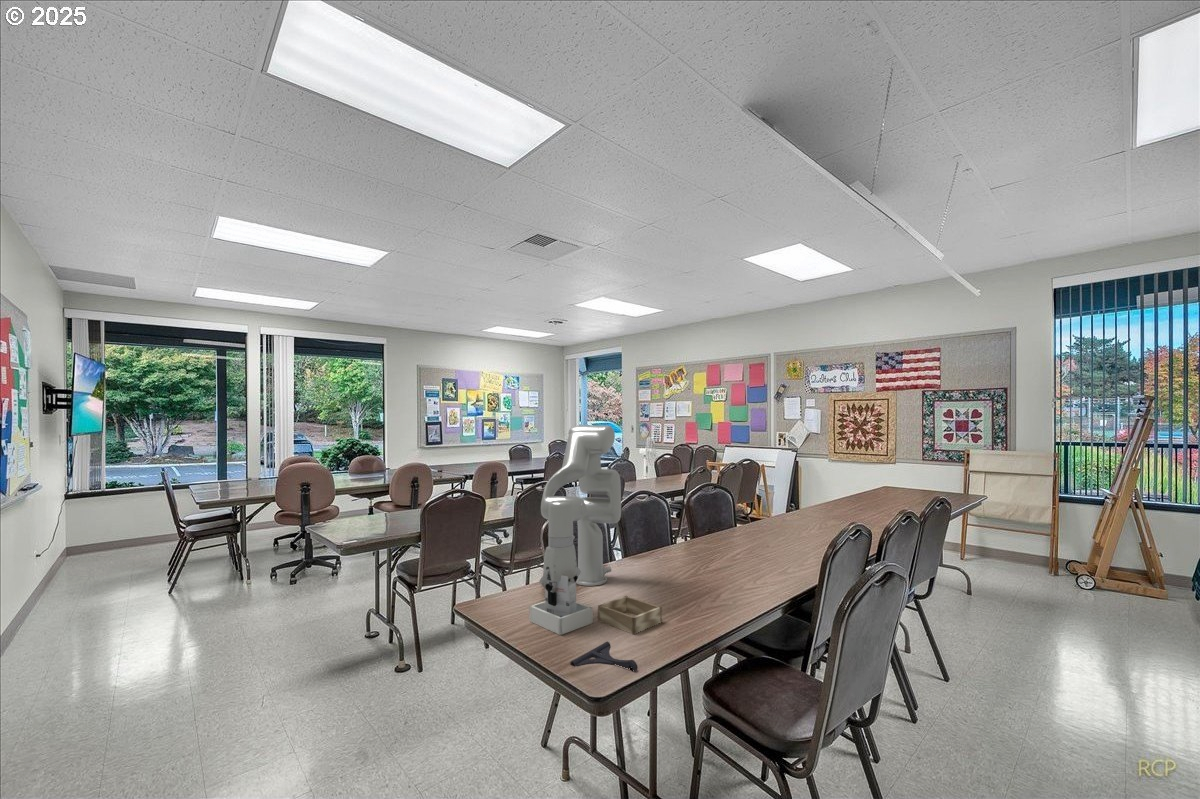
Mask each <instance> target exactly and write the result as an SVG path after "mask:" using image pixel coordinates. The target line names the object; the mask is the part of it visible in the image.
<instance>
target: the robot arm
mask: <svg viewBox="0 0 1200 799" xmlns="http://www.w3.org/2000/svg"><path fill="white" fill-rule="evenodd" d="M615 437H616V435H615V430H614V428H613V427H612V426H611V425H607V424H606V425H605V424H601V425H597V424H596V425H594V424H593V425H591V424H588V425H587V424H584V425H583V424H582V425H580V424H579V425H573V426H571V427H570V428H569V430H568V437H567V441H566V446H565V450H564V457H563V461H562V466H561V468H560V469H558V470H557V471H556V472H555V473H553V475H552V476H550V478H549V480H548V481H546V484H545V486H544V488H543V493H542V497H541V502H540V514H541V516H542V517H543V518H544V519H546V520H548V522H547V523H548V534H547V536H548V546H546V547H545V552H544V557H543V569H542V576H541V578H539V581H538V582H539V584H540V585H541V586H542V587H543V588H544V590H545V589H546V590H547V591H548V604H550V605H553V606H556V592H554V591H555V588H556V584H557V582H559V581H561V575H563V576H568V581H569V582H576V585H579V586H584V587H585V586H587V587H592V586H593V587H594V586H601V585H604V584H606V583H607V581H608V578H607V576H606V574H607V573H611V572H612V568H611V567H610V566H608V567H604V566H603V565H604V564H603V563H604V559H603V558H604V548H603V547H604V546H603V544H604V542H603V541H604V540H603V539H604V537H603V536H604V535H603V532H602V530H601V528H600V527H599V525H598V524H617V523H619V521H620V520H621V517H622V492H621V491H622V490H621V489H622V488H621V487H622V485H621V482H622V481H621V476H620V474H619V472H618V471H617V470H616V469H610V468H609V469H606V468H605V469H602V466H601V464H602V463H601V462H602V460H601V455H606V454H607V453H608V452H609V451H610V450H611V448H612V447H613V445H614V444H615V443H614V442H615V439H616V438H615ZM577 480H578V486H579V490H580V492H581V493H582V494H586V495H588V494H589V495H607V496H608V497H597V496H596V497H595V496H593V497H592V496H589V497H587V496H585V497H578V496H567V495H566V496H565V495H564V496H562V495H555V494H556V493H557V492H558V490H559V489H560V488H563V487H564V486H566V485H567V484H570V483H573V482H574V481H577ZM574 522H577V523H576V524H577V553H576V548H575V544H574V540H575V539H576V536H575V535H574ZM548 578H549V580H548ZM547 580H548V583H547V582H546V581H547ZM551 584H552V587H551Z"/></svg>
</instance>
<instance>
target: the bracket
mask: <svg viewBox="0 0 1200 799" xmlns="http://www.w3.org/2000/svg"><path fill="white" fill-rule="evenodd" d="M610 649H611V643H610V642H609V641H605V642H603V643H602V644H599V645H598V646H596V647H595V648H593V649H591V650H589V651H587V652H585V653H584V654H582V655H579V656H578V657H577V658H574V659H573V660H571V661H570V662H569V664H570V666H572V665H573V666H574V667H580V666H585V665H590V664H607V665H613V664H616V665H619V666H622V667H625V668H628V669H629V668H630V667H632V668H633V669H632V670H634V671H635V670H636V671H638V664H637V662H636V661H635V660H633V659H629V660H628V659H619V658H614V657H612V656H611V654H610ZM616 665H615V666H616ZM619 666H618V667H619ZM636 671H635V672H636Z"/></svg>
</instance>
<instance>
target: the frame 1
mask: <svg viewBox="0 0 1200 799" xmlns="http://www.w3.org/2000/svg"><path fill="white" fill-rule="evenodd" d="M593 609H594V608H593V606H589V605H587V604H583V603H581V602H579V601H576V612H575V613H572V614H569V615H566V616H563V617H559V616H556V615H554V614H551V613H549V612H546V611H545V600H544V601H541V602H539V603H535V604H532V605H531V604H530V605H529V615H528V616H529V618H528V619H529V620H528V621H529V622H530V623H533V624H535V625H537V626H538V627H539V626H540V627H541V628H543V629H546V630H548V631H550V632H553V633H555V634H557V635H559V636H562V635H565V634H567V633H569V632H573V631H575V630H577V629H580V628H582V627H583V628H584V627H585V626H589V625H591V624H593V623H594V622H593V621H594V620H593V615H594V614H593V612H594V610H593Z"/></svg>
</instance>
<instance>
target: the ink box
mask: <svg viewBox="0 0 1200 799" xmlns="http://www.w3.org/2000/svg"><path fill="white" fill-rule="evenodd" d="M548 580H549V578H548ZM548 580H547V581H546V582H547V583H548ZM551 587H552V584H551ZM554 592H556V606H553V605H550V604H548V591H547V590H546V589H545V588H544V601H545V611H546V612H549V613H551V614H554V615H556V616H559V617H563V616H566V615H569V614H572V613H575V612H576V602H577V584H576V582H569V581H568V576H563V575H561V581H559V582H557V584H556V588H555V591H554Z"/></svg>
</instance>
